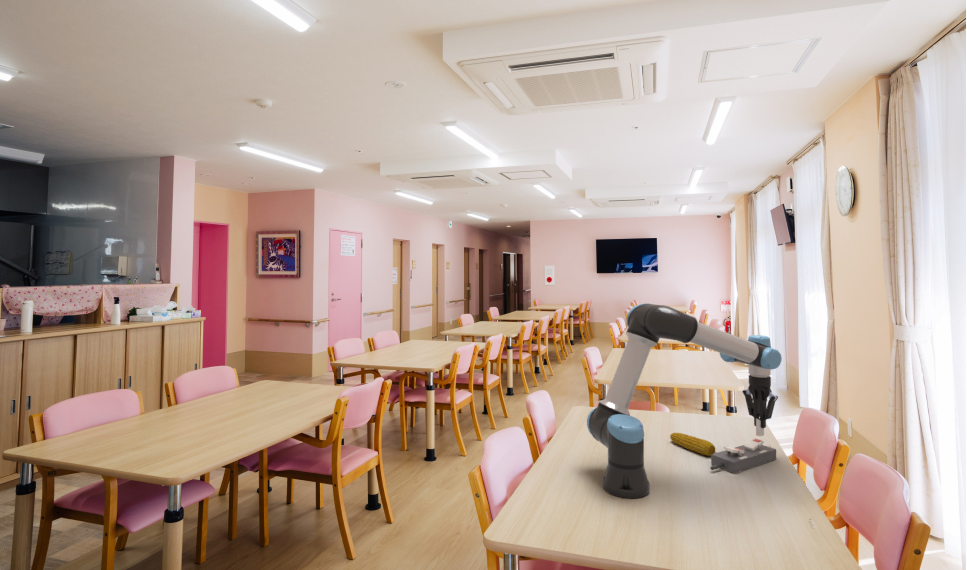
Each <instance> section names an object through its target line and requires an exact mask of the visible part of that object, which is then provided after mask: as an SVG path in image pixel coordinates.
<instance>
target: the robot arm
mask: <svg viewBox="0 0 967 570" xmlns="http://www.w3.org/2000/svg"><path fill="white" fill-rule="evenodd" d="M626 324H627V328H626V329H627V330H626V336H627V342H626V344H625V347H624V350H623V352H622V354H621V357H620V359H619V362H618V365H617V367H616V370H615V373H614V375H613V378H612V380H611V383H610V386H609V388H608V390H607V393H606V395H605V397H604V399H601V400H599V401H598V403H597V404H598V405H597V407H595V408H593V409H592V410H590V412H589V414H588V415H587V418H586V427H587V429H588V432H589V434H590V435H591V436H592V437H593V439H595V440H596V441H597V442H599V443H601V444H602V445H603V446H605V448H607V465H606V469H605V473H604V475H603V478H602V487H603V489H604V490H605V492H607V493H608V494H611V495H613V496H615V497H620V498H626V499H638V498H639V499H640V498H644V497H645V496H648V495H649V494H650V487H651V485H650V482H649V479H648V475H647V473H646V469H645V453H644V452H645V447H644V445H645V443H644V441H645V440H644V438H645V431H644V424H643V423H642V422H641V420H640V419H638V418H637V417H635V416H632V415H631V414H630V410H629V408H630V407H629V406H630V404H631V401H632V398H633V396H634V393H635V391H636V387H637V385H638V383H639V381H640V378H641V375H642V373H643V370H644V367H645V365H646V363H647V359H648V357H649V355H650V352H651V349H652V348H653V347H656V346H657V345H658V343H659V340H660V339H664V340H672V341H677V342H680V343H684V344H689V343H691V344H694V345H697V346H701V347H703V348H706V349H708V350H710V351H714V352H717V353H719V356H720V358H721V359H722V360H723V361H724V362H725V363H740V364H741V363H742V364H746V365H748V374H749V375H748V384H749V385H748V387H747V389H744V390H743V389H742V391H741V392H742V394H743V396H744V397H745V403H746V407H747V412H748V415H749V416H751V417H753V422H754V423H753V426H755V435H756V436H757V437H763V436H765V429H766V427H767V420H770V419H772V417H773V416H772V415H773V414H774V413H773V412H774V408H775V405H776V402H777V400H778V399H779V396H778V395H775V394H773V391H772V389H771V386H772V377H771V375H772V372H771V371H772V370H775V369H776V370H777V369H778V368H779V367H780V366H781V363H782V359H783V358H782V354H781V353H780V351H779V350H778V349H775V348H773V347H772V346H771V338H770V337H769V336H767V335H761V334H760V335H759V334H754V335H753V334H752V335H749V336H748V337H747V339H745V338H742V337H739V336H738V335H734V334H732V333H728V332H726V331H723V330H720V329H718V328H716V327H713V326H709V325H707V324H705V323H702V322H699V321H698V319H697V318H696V317H694V316H691V315H690V314H687V313H686V312H685V313H684V312H682V311H680V310H678V309H676V308H674V307H671V306H667V305H665V304H663V305H662V304H661V305H660V304H653V303H646V302H645V303H640V304H637V305H634V306H633V307H632V308H631V309H630V310H629V311H628V312H627V315H626Z"/></svg>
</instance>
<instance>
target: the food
mask: <svg viewBox="0 0 967 570" xmlns="http://www.w3.org/2000/svg"><path fill="white" fill-rule="evenodd" d="M669 437H670V440H671V441H672V442H673V443H674V444H676V445H678V446H679V447H681V448H684V449H686V450H689V451H692V452H695V453H698V454H700V455H703V456H707V457H711V454H714V453H716V447H715V444H713V443H712V442H711V441H709V440H706V439H704V438H699V437H696V436H692V435H689V434H686V433H681V432H672V433H671V434H670V436H669Z"/></svg>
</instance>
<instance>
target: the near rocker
mask: <svg viewBox="0 0 967 570" xmlns="http://www.w3.org/2000/svg"><path fill="white" fill-rule="evenodd" d="M723 447H724V448H723V451H725V450H727V451H730V452H733V453H743V454H744V451H743V450H741V449H738V448H735V447H729V446H728V447H727V446H723Z"/></svg>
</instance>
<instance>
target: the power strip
mask: <svg viewBox="0 0 967 570" xmlns="http://www.w3.org/2000/svg"><path fill="white" fill-rule="evenodd" d="M746 444H747V443H746ZM746 444H743V445H739V446H735V447H734V448H738V449H741V450H743V451H744V454H743V453H733V452H730V451H727V450H721V451H718V452H715V453H714V454H711V456H710V457H711V458H710V459H711V461H710V462H711V466H710V467H709V468H710V471H714V470H717V469H721V470H723V471H726V472H729V473H732V474H736V473H739V472H743V471H746V470H749V469H752V468H755V467H758V466H761V465H764V464H766V463H767V464H768V463H769V462H773V461H775V460H777V448H775V447H771V446H767V445H764V444H762V445H761V446H759V447H758V448H756V449H755V450H754V451H752V450H749V449H746V448H744V445H746Z"/></svg>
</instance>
